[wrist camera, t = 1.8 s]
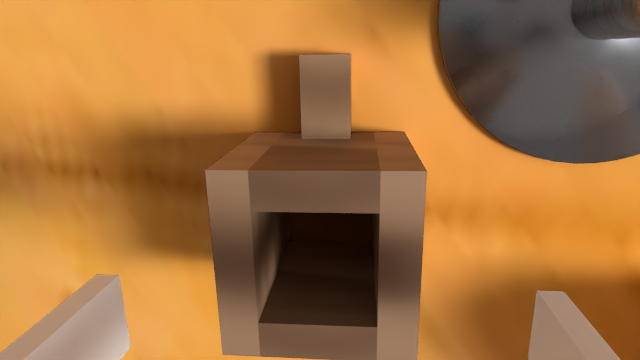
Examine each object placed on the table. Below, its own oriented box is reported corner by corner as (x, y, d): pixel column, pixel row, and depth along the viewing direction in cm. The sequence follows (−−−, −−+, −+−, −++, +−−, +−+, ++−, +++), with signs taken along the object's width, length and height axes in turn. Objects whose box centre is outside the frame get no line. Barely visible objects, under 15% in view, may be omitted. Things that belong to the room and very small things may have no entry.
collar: (399, 268, 25) (416, 363, 17) (263, 265, 26) (222, 354, 18) (407, 52, 22) (433, 52, 14) (250, 55, 22) (194, 56, 15)
